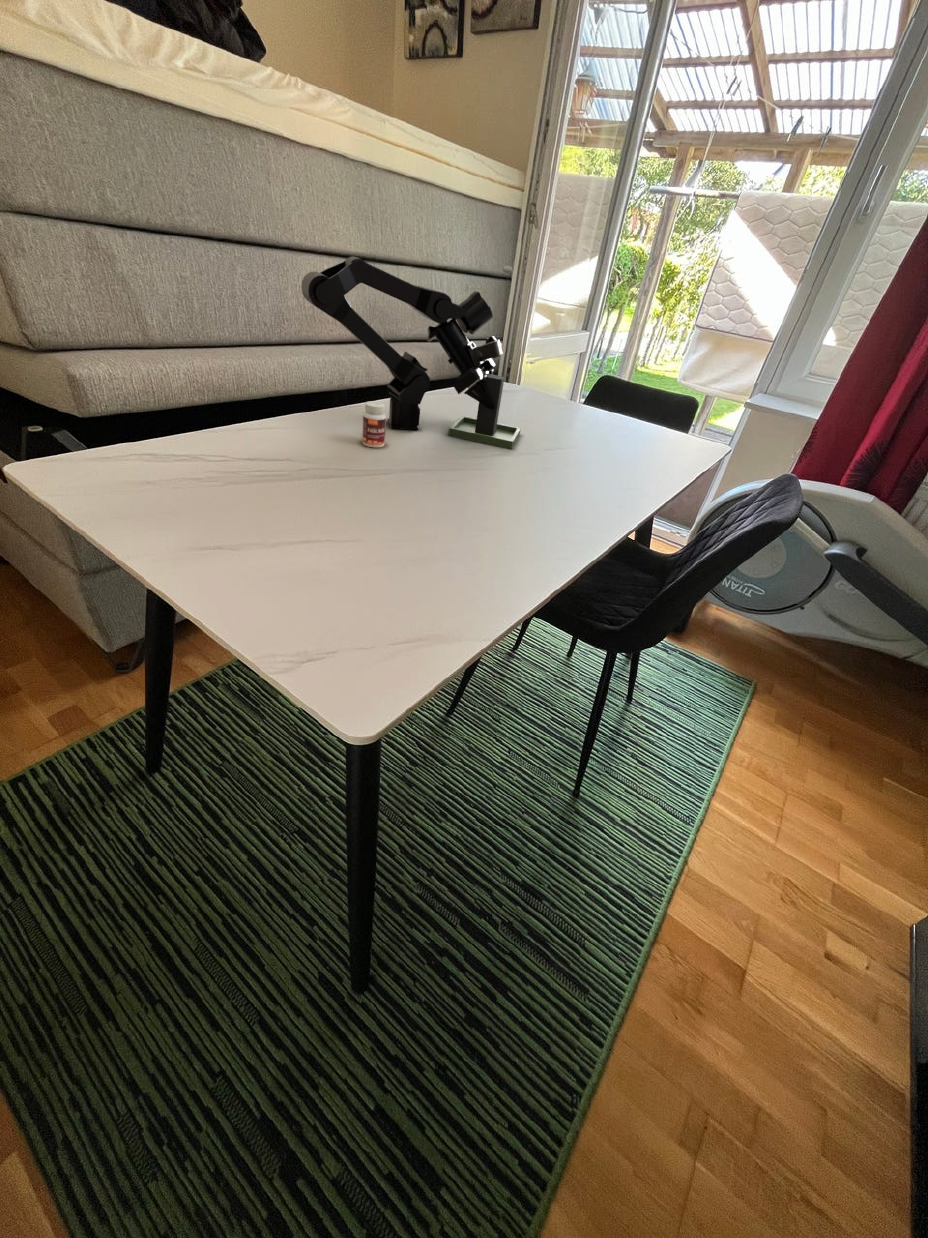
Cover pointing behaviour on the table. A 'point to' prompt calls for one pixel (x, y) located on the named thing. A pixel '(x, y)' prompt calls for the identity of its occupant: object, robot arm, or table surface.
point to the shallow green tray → (466, 430)
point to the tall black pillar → (486, 416)
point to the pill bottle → (374, 424)
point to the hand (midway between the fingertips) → (495, 406)
